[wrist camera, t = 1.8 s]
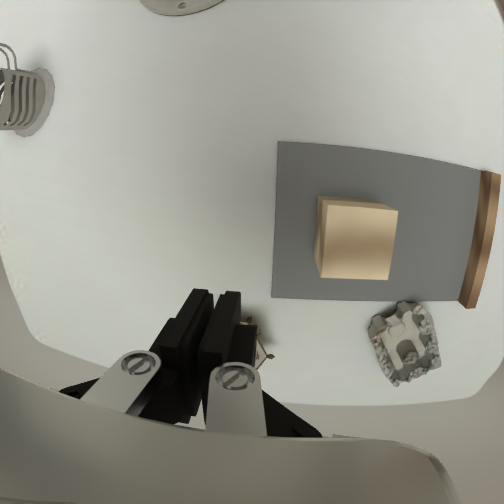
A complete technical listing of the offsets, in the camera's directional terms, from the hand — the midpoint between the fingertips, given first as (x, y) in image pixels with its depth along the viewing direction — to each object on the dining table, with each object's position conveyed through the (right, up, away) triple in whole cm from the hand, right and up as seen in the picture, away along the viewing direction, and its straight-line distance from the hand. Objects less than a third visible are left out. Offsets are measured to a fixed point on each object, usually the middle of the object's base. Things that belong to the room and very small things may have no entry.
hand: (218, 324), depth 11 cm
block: (+11, +5, +17) cm, 21 cm away
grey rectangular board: (+15, +5, +17) cm, 24 cm away
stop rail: (+28, +4, +16) cm, 33 cm away
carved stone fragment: (+20, -7, +21) cm, 30 cm away
